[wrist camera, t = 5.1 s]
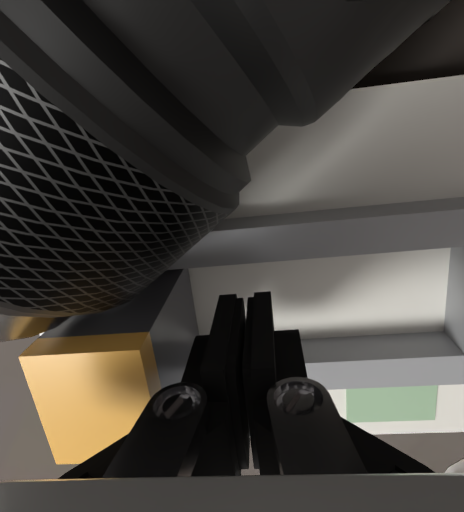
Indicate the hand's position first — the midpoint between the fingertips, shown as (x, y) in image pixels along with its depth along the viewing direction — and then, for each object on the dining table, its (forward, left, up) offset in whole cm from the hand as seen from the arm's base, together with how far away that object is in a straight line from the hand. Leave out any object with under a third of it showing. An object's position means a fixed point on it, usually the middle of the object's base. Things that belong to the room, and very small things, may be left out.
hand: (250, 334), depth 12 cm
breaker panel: (-1, 0, -5) cm, 5 cm away
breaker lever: (+4, 0, -3) cm, 5 cm away
